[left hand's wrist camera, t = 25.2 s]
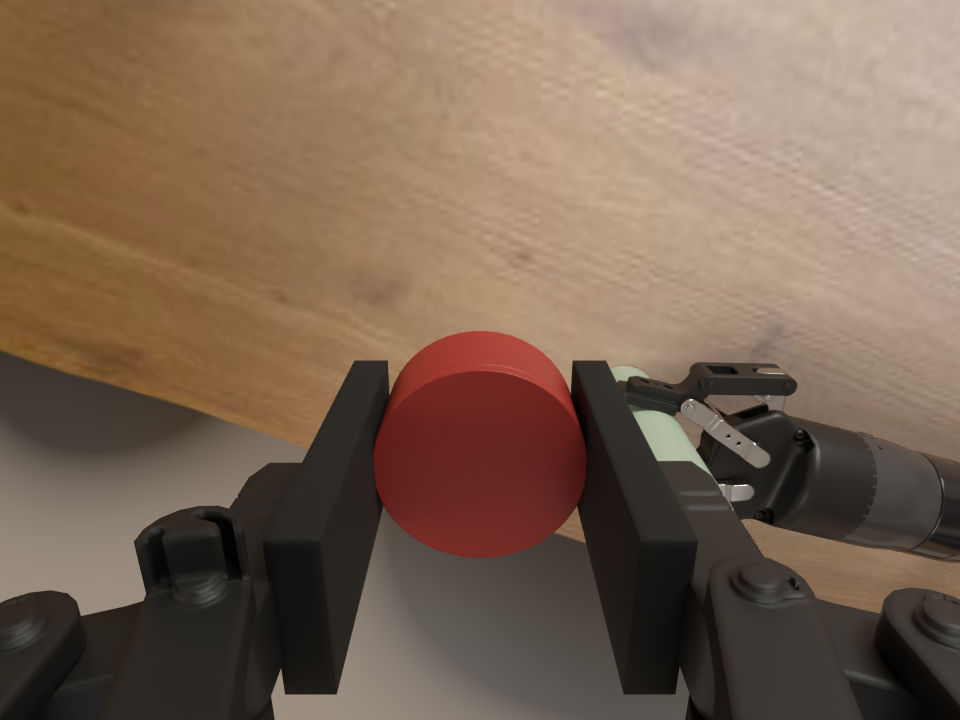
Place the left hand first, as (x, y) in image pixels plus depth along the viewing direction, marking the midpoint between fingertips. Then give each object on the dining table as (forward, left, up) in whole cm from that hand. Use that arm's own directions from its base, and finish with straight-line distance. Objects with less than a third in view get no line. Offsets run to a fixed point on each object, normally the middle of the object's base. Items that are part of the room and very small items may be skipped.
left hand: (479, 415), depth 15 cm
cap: (0, 0, +2) cm, 2 cm away
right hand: (+14, -7, -24) cm, 28 cm away
